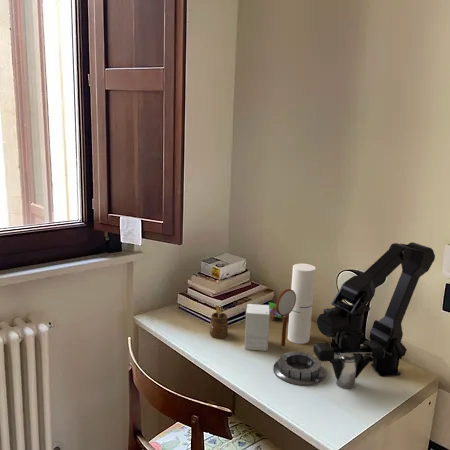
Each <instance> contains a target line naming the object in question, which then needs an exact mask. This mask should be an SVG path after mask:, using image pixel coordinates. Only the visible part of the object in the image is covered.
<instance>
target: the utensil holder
mask: <svg viewBox="0 0 450 450" xmlns="http://www.w3.org/2000/svg"><path fill="white" fill-rule="evenodd" d="M215 309H216V310H215V312H213V313H211V316H210V317H211V318H210V323H209V336H211V337H212V338H215V339H223V338H226V337H227V336H228V330H229V321H228V315H227V314H226V313H224V310H222V301H219V302H217V304H216V306H215Z"/></svg>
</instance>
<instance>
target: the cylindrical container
mask: <svg viewBox="0 0 450 450" xmlns="http://www.w3.org/2000/svg"><path fill="white" fill-rule="evenodd" d="M316 268H317V267H315V266H314V265H312V264H309V263H295V264H293V265H292V276H291V288H290V289H291V290H293V291H294V292H295V295H296V302H295V306H294V308H293V310H292V311H291V312H290V313H289V314H288V324H287V325H288V327H287V340H288V341H289V342H292V343H293V344H299V345H302V344H306V343H307V344H308V343H309V341H310V338H311V325H312V324H311V323H312V314H313V313H312V312H313V301H314V300H313V299H314V290H315V278H316Z"/></svg>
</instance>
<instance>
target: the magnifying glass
mask: <svg viewBox="0 0 450 450" xmlns="http://www.w3.org/2000/svg"><path fill="white" fill-rule="evenodd" d="M295 302H296V295H295V292H294V291H293V290H291V288H285V289H284V290H283V291H282V292H281V293H279V295H278V297H277V299H276V310H277V312H278V314H279V315H281V317H282V327H281V328H282V329H281V342H280V343H281V344H280V345H281V349H284V348H285V346H286V335H287V325H288V324H287V323H288V316H289V313H290V312H291V311H292V310H293V308H294V306H295Z"/></svg>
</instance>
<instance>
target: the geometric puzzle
mask: <svg viewBox="0 0 450 450" xmlns="http://www.w3.org/2000/svg"><path fill="white" fill-rule="evenodd" d="M275 302H276V303H277V299H276V300H274V302H273V301H268V303H267V304H266V305H269V311H270V321H274V320H275V318H276V319H283V316H281V315H279V314H278V312H277V310H276V303H275ZM274 317H275V318H274Z"/></svg>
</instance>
